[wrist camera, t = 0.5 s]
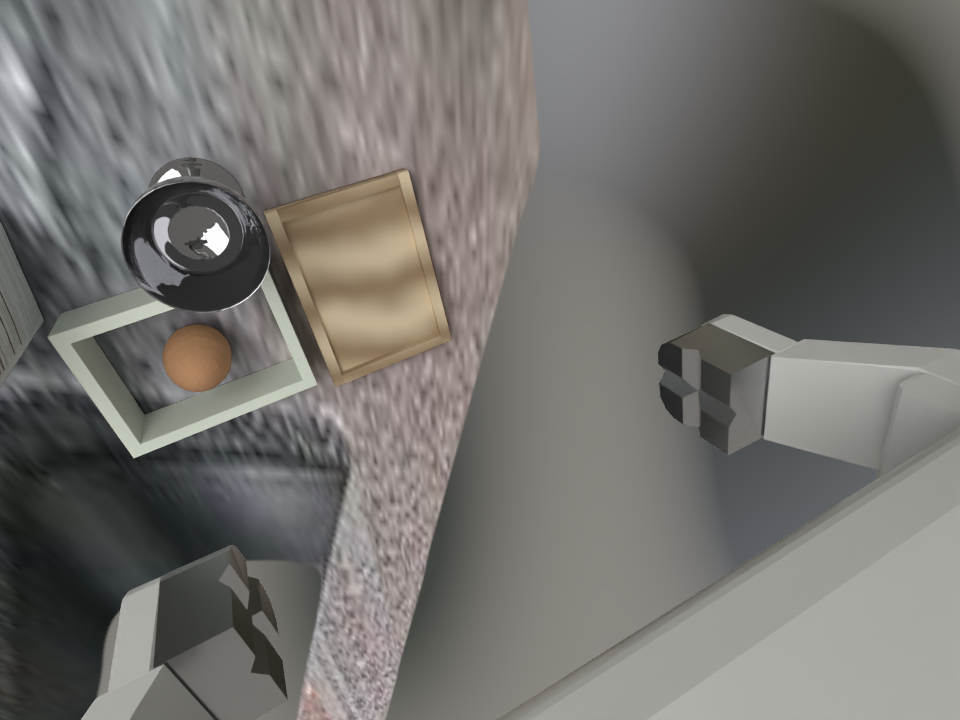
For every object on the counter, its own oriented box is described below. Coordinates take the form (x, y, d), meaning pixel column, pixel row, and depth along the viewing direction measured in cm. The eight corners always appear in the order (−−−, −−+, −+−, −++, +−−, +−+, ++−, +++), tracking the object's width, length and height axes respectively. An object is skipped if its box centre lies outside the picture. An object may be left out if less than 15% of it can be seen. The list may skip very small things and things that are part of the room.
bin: (60, 313, 44) (47, 337, 40) (259, 249, 48) (265, 264, 44) (138, 427, 50) (133, 458, 46) (308, 361, 54) (317, 384, 50)
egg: (232, 316, 49) (237, 351, 43) (226, 367, 51) (231, 408, 45) (166, 310, 47) (162, 346, 41) (163, 364, 49) (158, 407, 42)
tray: (263, 210, 47) (264, 214, 46) (403, 168, 50) (408, 170, 49) (332, 380, 56) (335, 387, 55) (446, 334, 60) (451, 340, 59)
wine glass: (118, 208, 42) (88, 261, 30) (182, 129, 42) (177, 150, 30) (212, 270, 47) (218, 336, 35) (270, 199, 47) (297, 241, 35)
